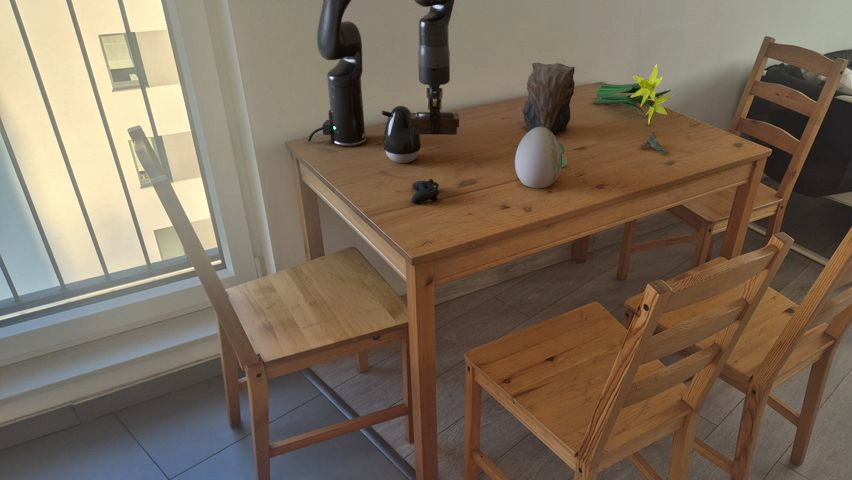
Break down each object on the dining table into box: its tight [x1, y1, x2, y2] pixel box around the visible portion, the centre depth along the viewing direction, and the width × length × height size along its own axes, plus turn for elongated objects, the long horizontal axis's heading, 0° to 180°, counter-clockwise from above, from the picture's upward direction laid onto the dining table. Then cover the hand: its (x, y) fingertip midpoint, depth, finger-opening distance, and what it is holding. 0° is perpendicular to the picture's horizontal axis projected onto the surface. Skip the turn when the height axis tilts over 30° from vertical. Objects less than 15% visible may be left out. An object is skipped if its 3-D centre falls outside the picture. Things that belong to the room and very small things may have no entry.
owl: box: [522, 62, 576, 137], centre depth 209 cm, size 13×13×20 cm
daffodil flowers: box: [592, 63, 674, 126], centre depth 225 cm, size 17×15×35 cm
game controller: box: [411, 178, 440, 204], centre depth 169 cm, size 10×5×6 cm
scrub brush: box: [411, 111, 460, 136], centre depth 172 cm, size 12×4×5 cm, turn 95°
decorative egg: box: [514, 127, 563, 189], centre depth 176 cm, size 12×12×15 cm
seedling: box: [558, 141, 568, 168], centre depth 191 cm, size 7×8×7 cm
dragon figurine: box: [639, 129, 667, 155], centre depth 202 cm, size 7×7×8 cm
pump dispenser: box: [380, 105, 422, 164], centre depth 185 cm, size 10×10×15 cm
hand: (435, 129), depth 173 cm, fingers closed on scrub brush, 4 cm apart
